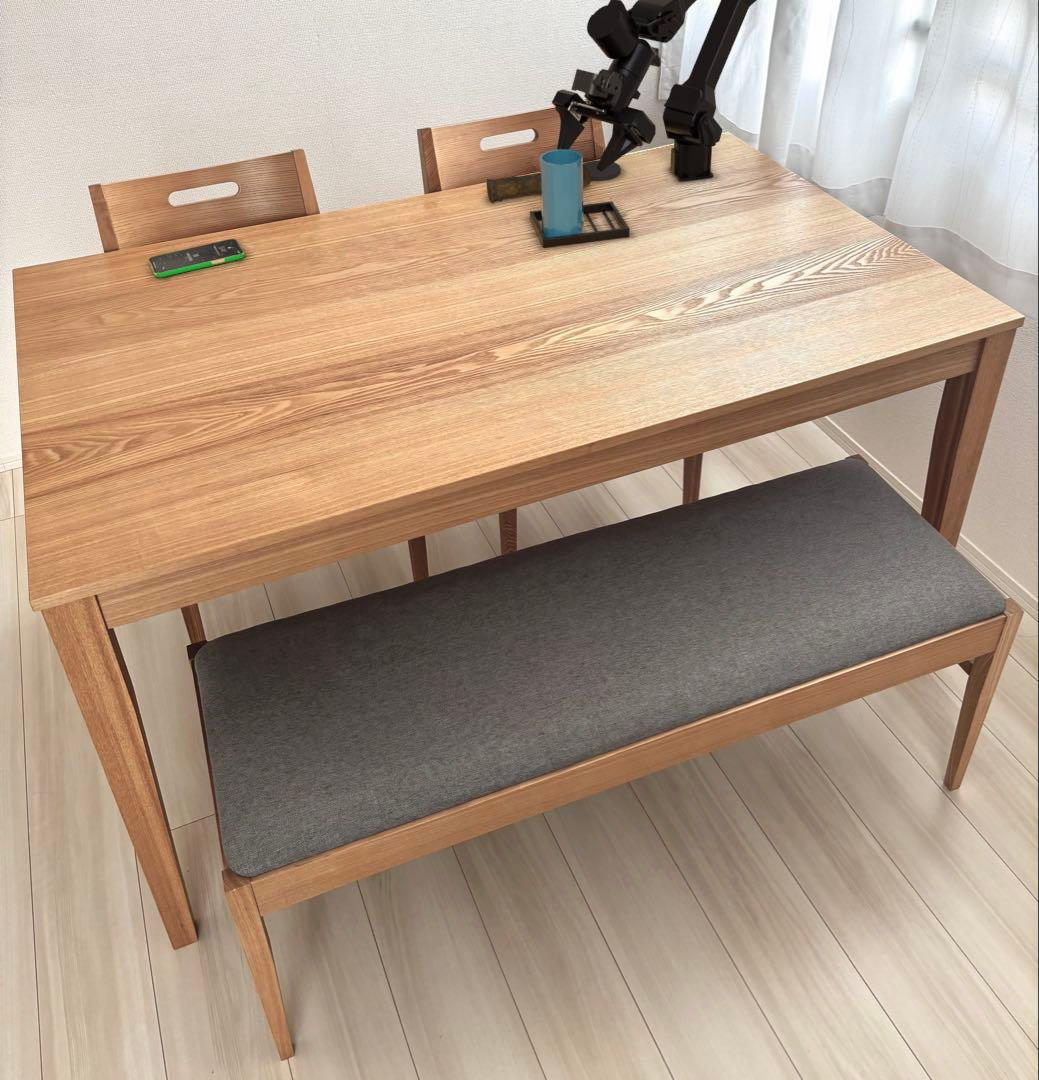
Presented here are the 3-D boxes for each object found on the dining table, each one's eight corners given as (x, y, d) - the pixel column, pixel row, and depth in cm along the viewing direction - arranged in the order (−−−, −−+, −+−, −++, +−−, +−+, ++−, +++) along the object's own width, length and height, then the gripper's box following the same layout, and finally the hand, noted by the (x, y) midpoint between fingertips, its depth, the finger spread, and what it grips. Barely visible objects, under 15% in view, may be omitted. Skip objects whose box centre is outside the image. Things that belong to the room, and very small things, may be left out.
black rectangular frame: (612, 209, 183) (612, 201, 182) (629, 237, 174) (629, 228, 173) (530, 219, 181) (529, 211, 180) (543, 248, 172) (542, 239, 171)
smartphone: (146, 256, 176) (235, 236, 180) (148, 262, 176) (236, 242, 180) (154, 274, 170) (245, 253, 174) (156, 279, 171) (246, 258, 175)
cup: (578, 223, 179) (577, 147, 171) (587, 239, 174) (586, 161, 165) (539, 228, 178) (536, 151, 170) (547, 245, 173) (544, 167, 165)
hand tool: (490, 205, 187) (488, 180, 184) (486, 197, 190) (484, 171, 187) (593, 192, 189) (593, 167, 186) (588, 184, 192) (588, 159, 189)
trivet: (614, 162, 199) (614, 158, 199) (625, 177, 193) (625, 173, 193) (573, 167, 198) (573, 163, 198) (582, 183, 192) (582, 178, 192)
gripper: (557, 36, 168) (511, 125, 170) (645, 56, 158) (595, 151, 159) (592, 76, 177) (547, 159, 179) (677, 97, 167) (629, 186, 168)
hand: (578, 163), depth 171 cm, fingers open, 9 cm apart
